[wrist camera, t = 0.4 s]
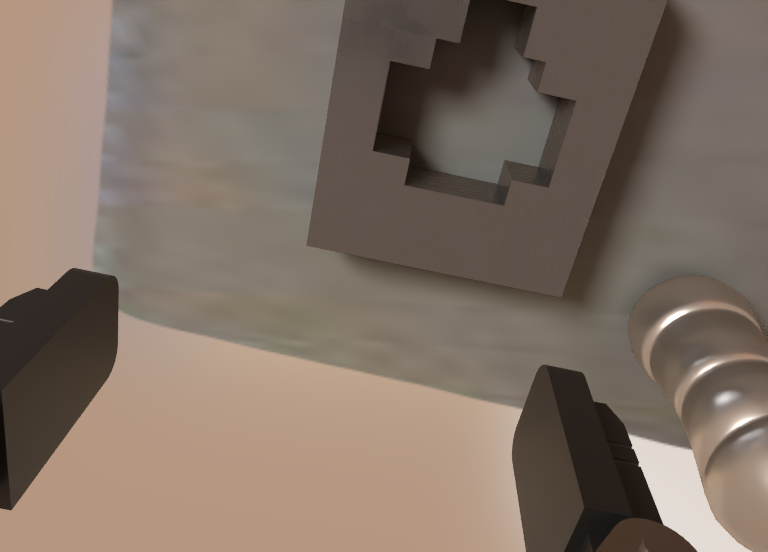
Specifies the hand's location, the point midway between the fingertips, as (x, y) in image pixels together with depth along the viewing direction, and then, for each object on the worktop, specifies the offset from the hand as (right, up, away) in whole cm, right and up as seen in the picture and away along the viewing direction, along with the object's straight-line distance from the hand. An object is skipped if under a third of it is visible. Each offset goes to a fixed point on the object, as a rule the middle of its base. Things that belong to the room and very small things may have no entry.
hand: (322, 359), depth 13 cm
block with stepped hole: (+6, +10, +23) cm, 26 cm away
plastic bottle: (+19, 0, +28) cm, 33 cm away
